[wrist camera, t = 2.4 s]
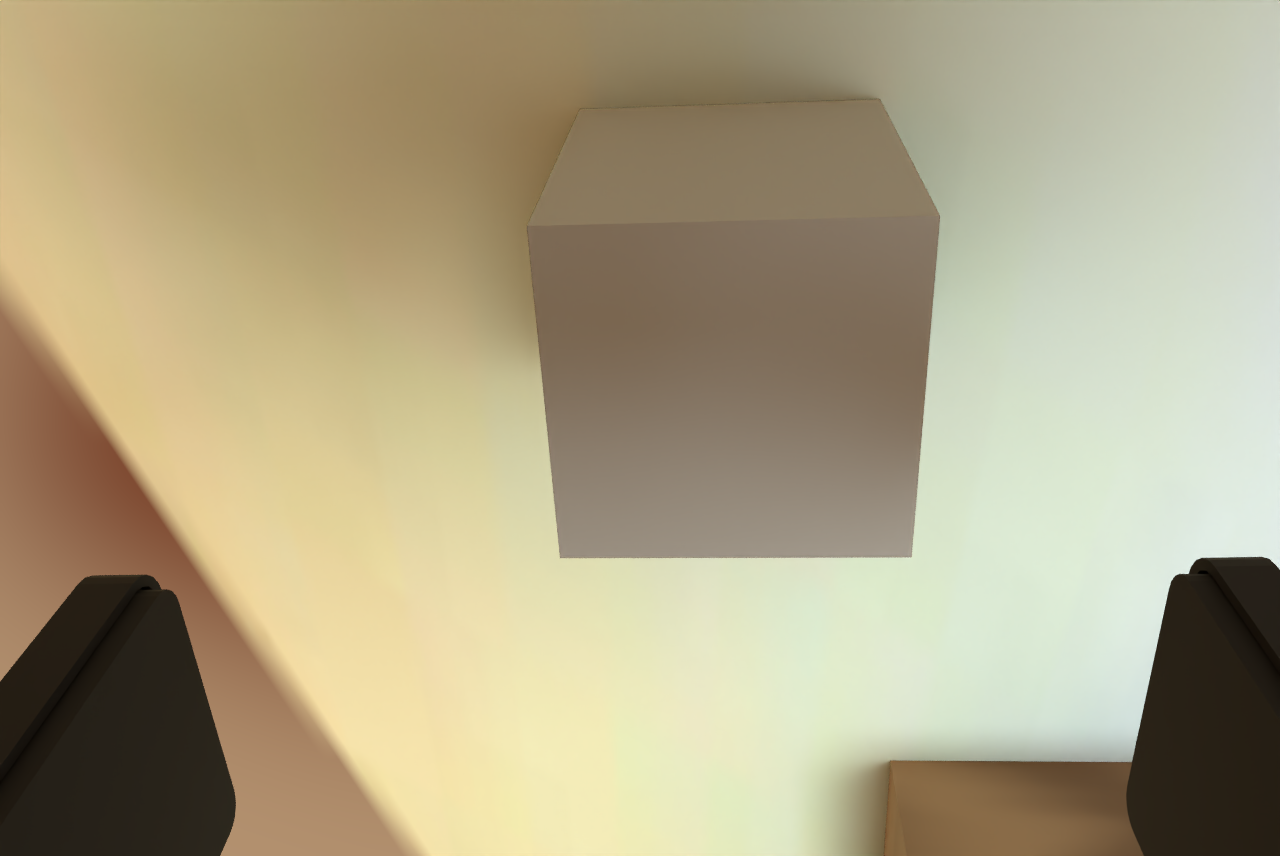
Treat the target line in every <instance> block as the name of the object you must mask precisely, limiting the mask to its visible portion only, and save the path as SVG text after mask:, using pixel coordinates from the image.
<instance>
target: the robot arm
mask: <svg viewBox="0 0 1280 856" xmlns="http://www.w3.org/2000/svg"><path fill="white" fill-rule="evenodd" d="M235 801H236V800H235V792H234V789H233V785H232V781H231V778H230V774H229V771H228V768H227V764H226V761H225V757H224V754H223V751H222V747H221V744H220V741H219V737H218V734H217V730H216V727H215V723H214V720H213V717H212V713H211V710H210V707H209V703H208V700H207V696H206V693H205V689H204V686H203V683H202V679H201V676H200V672H199V669H198V666H197V662H196V659H195V656H194V652H193V649H192V645H191V642H190V638H189V635H188V632H187V628H186V625H185V621H184V619H183V615H182V611H181V608H180V605H179V602H178V599H177V597H176V595H175V594H174V593H173V592H172V591H170V590H161V588H160V585H159V583H158V582H157V581H156V580H155V579H154V577H151V576H148V575H104V576H103V575H102V576H101V575H99V576H90V577H86V578H84V579H83V580H82V581H81V582H80V583H79V584H78V585H77V586H76V587H75V589H74V590H73V591H72V592H71V594H70V595H69V596H68V597H67V599H66V600H65V601H64V602H63V604H62V605H61V606H60V608H59V609H58V610H57V611H56V612H55V614H54V615H53V616H52V617H51V619H50V620H49V621H48V622H47V624H46V625H45V626H44V627H43V629H42V630H41V632H40V633H39V634H38V635H37V636H36V637H35V639H34V640H33V641H32V642H31V644H30V645H29V646H28V648H27V649H26V650H25V651H24V653H23V654H22V655H21V656H20V658H19V659H18V660H17V661H16V663H15V664H14V665H13V666H12V668H11V669H10V670H9V672H8V673H7V674H6V675H5V676H4V678H3V679H2V680H1V681H0V856H220V855H221V852H222V850H223V848H224V846H225V843H226V841H227V839H228V837H229V835H230V832H231V829H232V826H233V822H234V818H235V808H236V802H235ZM1126 803H1127V811H1128V816H1129V821H1130V824H1131V827H1132V830H1133V832H1134V835H1135V837H1136V839H1137V842H1138V844H1139V846H1140V848H1141V851H1142V853H1143V855H1144V856H1280V570H1279V568H1278V567H1277V566H1276V565H1275V564H1274V563H1273V562H1272V561H1271V560H1270V559H1267V558H1264V557H1230V558H1201V559H1198V560H1196V561H1195V562H1194V564H1193V565H1192V567H1191V569H1190V572H1189V574H1179V575H1176V576H1175V577H1174V578H1173V580H1172V581H1171V585H1170V588H1169V592H1168V596H1167V601H1166V606H1165V611H1164V615H1163V620H1162V625H1161V629H1160V634H1159V639H1158V643H1157V648H1156V653H1155V657H1154V662H1153V667H1152V671H1151V676H1150V681H1149V686H1148V690H1147V695H1146V700H1145V704H1144V709H1143V714H1142V718H1141V723H1140V728H1139V732H1138V737H1137V742H1136V746H1135V751H1134V756H1133V761H1132V765H1131V770H1130V775H1129V779H1128V784H1127V791H1126Z"/></svg>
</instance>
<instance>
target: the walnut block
mask: <svg viewBox="0 0 1280 856" xmlns="http://www.w3.org/2000/svg"><path fill="white" fill-rule="evenodd" d="M1131 765H1132V762H1018V761H890V775H889V789H888V803H887V818H886V832H885V846H884V856H1144V855H1143V853H1142V851H1141V848H1140V846H1139V844H1138V842H1137V839H1136V837H1135V835H1134V832H1133V830H1132V827H1131V824H1130V821H1129V816H1128V811H1127V803H1126V791H1127V784H1128V779H1129V775H1130V770H1131Z"/></svg>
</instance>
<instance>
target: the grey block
mask: <svg viewBox="0 0 1280 856" xmlns="http://www.w3.org/2000/svg"><path fill="white" fill-rule="evenodd" d="M939 222H940V215H939V213H938V211H937V209H936V207H935V205H934V203H933V201H932V199H931V197H930V195H929V193H928V191H927V189H926V188H925V186H924V184H923V182H922V180H921V178H920V176H919V174H918V172H917V170H916V168H915V166H914V164H913V162H912V160H911V158H910V157H909V155H908V153H907V151H906V149H905V147H904V145H903V143H902V141H901V139H900V137H899V135H898V133H897V131H896V129H895V127H894V126H893V124H892V122H891V120H890V118H889V116H888V114H887V112H886V110H885V108H884V106H883V104H882V102H881V100H880V99H866V100H835V101H805V102H774V103H744V104H714V105H683V106H653V107H623V108H592V109H580V110H579V112H578V114H577V116H576V118H575V121H574V123H573V125H572V127H571V129H570V132H569V134H568V136H567V138H566V141H565V143H564V145H563V147H562V149H561V152H560V154H559V156H558V158H557V161H556V163H555V165H554V167H553V169H552V172H551V174H550V176H549V178H548V180H547V183H546V185H545V187H544V189H543V192H542V194H541V196H540V198H539V200H538V203H537V205H536V207H535V209H534V211H533V214H532V216H531V218H530V220H529V223H528V225H527V232H528V242H529V252H530V262H531V272H532V282H533V292H534V302H535V312H536V322H537V332H538V342H539V352H540V362H541V372H542V382H543V392H544V402H545V412H546V422H547V432H548V442H549V452H550V462H551V472H552V482H553V492H554V502H555V512H556V522H557V532H558V542H559V552H560V558H801V557H912V545H913V533H914V521H915V509H916V497H917V485H918V473H919V461H920V449H921V437H922V425H923V413H924V401H925V389H926V377H927V365H928V353H929V341H930V329H931V318H932V306H933V294H934V282H935V270H936V258H937V246H938V234H939Z"/></svg>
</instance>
